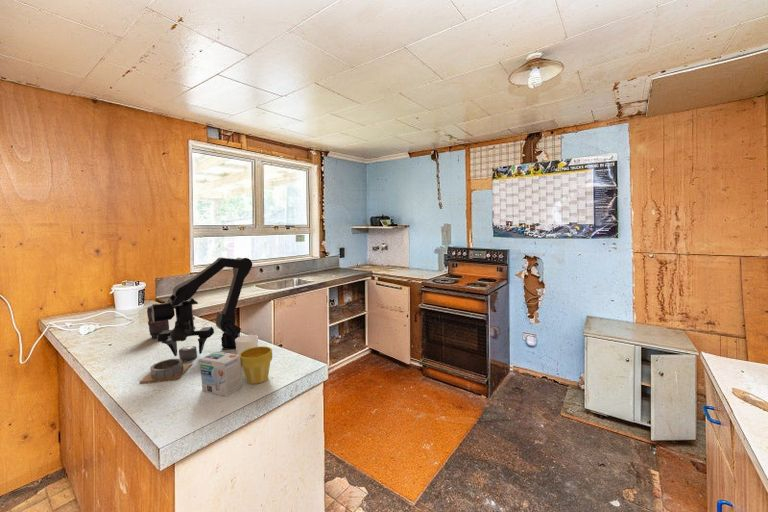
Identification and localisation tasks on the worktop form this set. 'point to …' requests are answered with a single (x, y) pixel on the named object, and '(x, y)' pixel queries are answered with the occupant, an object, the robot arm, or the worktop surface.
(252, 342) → the white cup
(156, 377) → the ring mount
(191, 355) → the gray tapered cylinder
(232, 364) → the light bulb box
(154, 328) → the camera lens
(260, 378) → the plant pot
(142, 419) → the worktop surface
